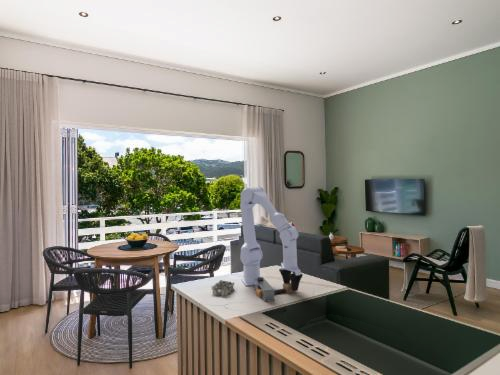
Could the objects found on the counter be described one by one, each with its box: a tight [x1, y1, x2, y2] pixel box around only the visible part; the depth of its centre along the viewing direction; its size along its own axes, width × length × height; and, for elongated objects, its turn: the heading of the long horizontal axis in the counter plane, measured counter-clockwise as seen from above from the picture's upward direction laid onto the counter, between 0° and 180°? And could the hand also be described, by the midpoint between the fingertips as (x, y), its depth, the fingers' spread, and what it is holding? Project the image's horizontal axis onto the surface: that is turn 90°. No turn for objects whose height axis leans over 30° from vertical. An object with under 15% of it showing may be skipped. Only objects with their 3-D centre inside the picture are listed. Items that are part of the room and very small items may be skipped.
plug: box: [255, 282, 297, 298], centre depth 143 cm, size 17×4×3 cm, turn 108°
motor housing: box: [254, 276, 275, 302], centre depth 142 cm, size 16×4×5 cm, turn 13°
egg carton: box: [211, 279, 235, 297], centre depth 148 cm, size 11×8×4 cm
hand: (291, 288), depth 145 cm, fingers open, 7 cm apart
